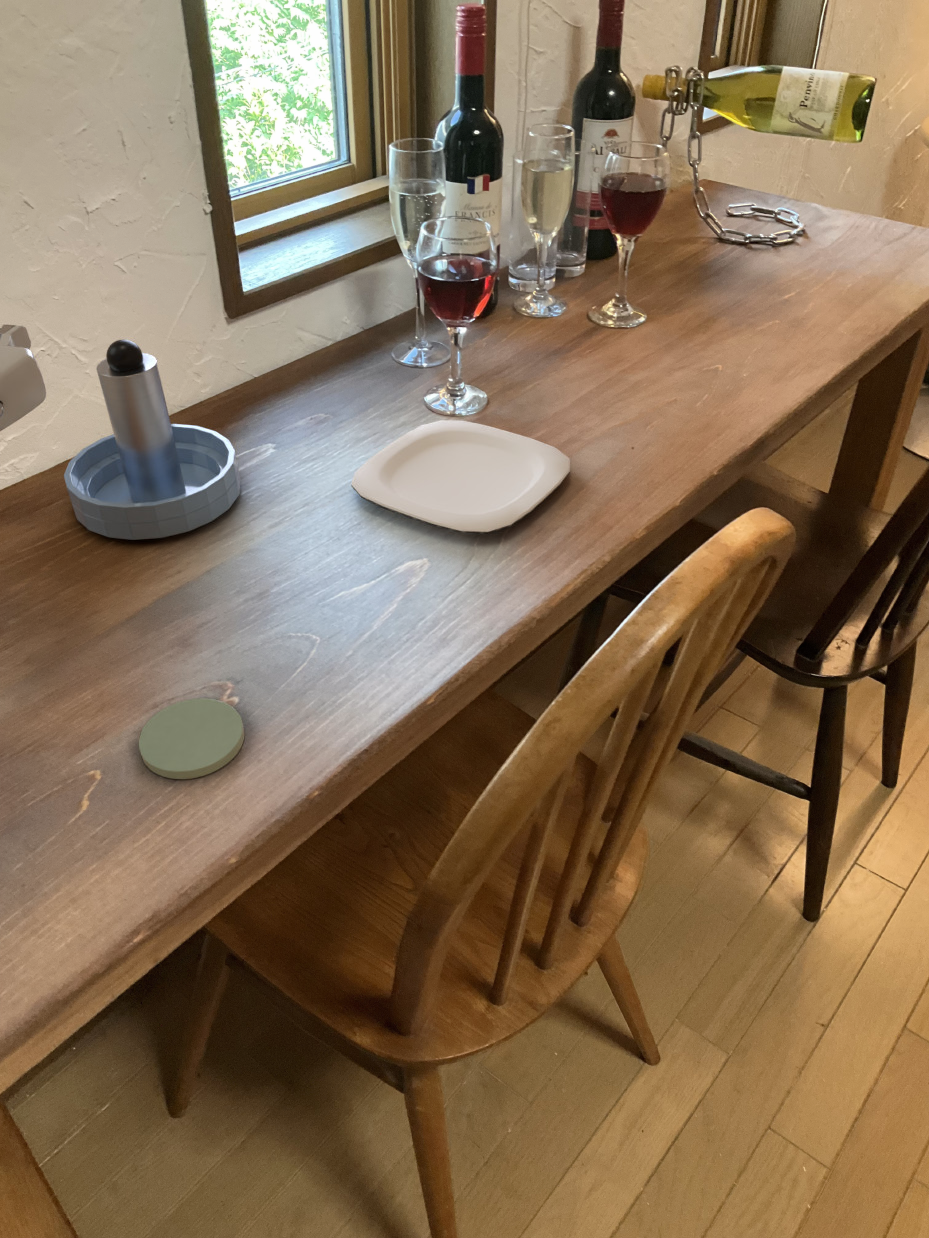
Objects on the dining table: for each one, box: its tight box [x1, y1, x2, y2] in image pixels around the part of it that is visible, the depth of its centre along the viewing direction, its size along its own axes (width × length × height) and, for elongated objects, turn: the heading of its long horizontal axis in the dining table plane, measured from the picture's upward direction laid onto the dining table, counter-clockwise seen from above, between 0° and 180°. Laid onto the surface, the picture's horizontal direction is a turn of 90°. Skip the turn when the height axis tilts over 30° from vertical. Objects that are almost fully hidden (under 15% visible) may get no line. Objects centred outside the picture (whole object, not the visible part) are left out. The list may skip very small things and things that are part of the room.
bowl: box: [63, 423, 242, 541], centre depth 90 cm, size 15×15×4 cm
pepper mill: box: [96, 338, 186, 503], centre depth 86 cm, size 5×5×15 cm
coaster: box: [138, 697, 245, 780], centre depth 66 cm, size 7×7×1 cm
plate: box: [350, 419, 571, 535], centre depth 92 cm, size 18×18×2 cm
